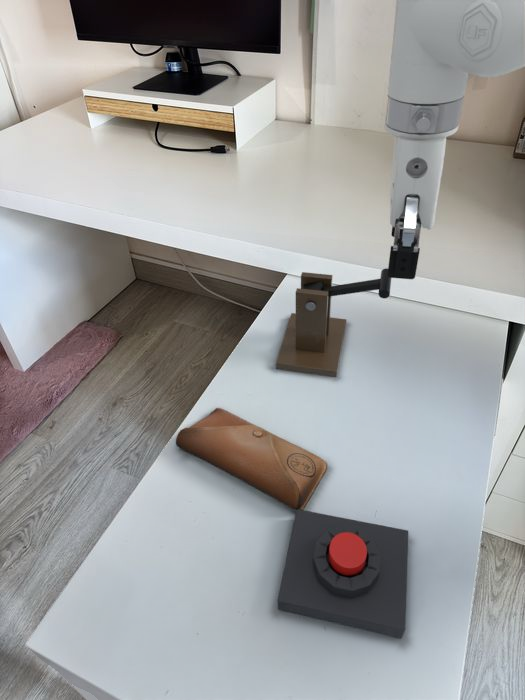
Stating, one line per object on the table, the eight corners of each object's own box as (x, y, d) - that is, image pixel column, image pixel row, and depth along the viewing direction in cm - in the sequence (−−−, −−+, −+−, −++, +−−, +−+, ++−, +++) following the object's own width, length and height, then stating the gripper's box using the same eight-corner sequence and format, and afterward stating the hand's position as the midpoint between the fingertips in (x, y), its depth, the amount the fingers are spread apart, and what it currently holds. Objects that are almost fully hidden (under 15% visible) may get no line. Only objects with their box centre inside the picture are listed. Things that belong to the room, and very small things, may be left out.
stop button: (366, 544, 51) (368, 536, 50) (363, 579, 48) (365, 571, 47) (331, 537, 52) (332, 528, 50) (326, 571, 49) (326, 563, 48)
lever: (393, 279, 70) (390, 264, 68) (391, 300, 66) (387, 285, 65) (310, 291, 74) (305, 278, 73) (304, 312, 71) (299, 298, 70)
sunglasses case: (332, 459, 62) (321, 452, 56) (308, 513, 61) (295, 511, 55) (214, 405, 69) (193, 393, 63) (191, 452, 68) (167, 444, 62)
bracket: (346, 324, 82) (351, 262, 74) (336, 377, 73) (341, 313, 65) (291, 318, 83) (291, 257, 75) (275, 368, 75) (273, 305, 67)
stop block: (405, 540, 55) (411, 521, 52) (401, 639, 48) (408, 623, 45) (296, 518, 57) (296, 499, 54) (277, 609, 50) (276, 593, 47)
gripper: (465, 144, 45) (434, 298, 57) (457, 89, 58) (432, 224, 69) (380, 142, 47) (366, 292, 58) (390, 89, 59) (376, 221, 71)
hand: (402, 255), depth 64 cm, fingers open, 9 cm apart
